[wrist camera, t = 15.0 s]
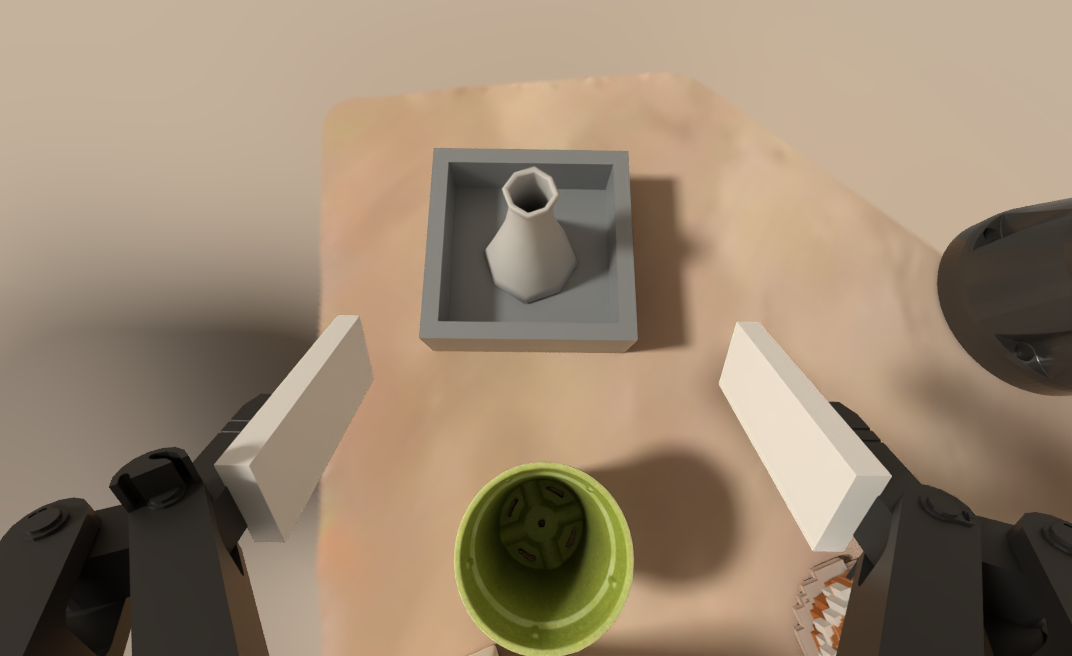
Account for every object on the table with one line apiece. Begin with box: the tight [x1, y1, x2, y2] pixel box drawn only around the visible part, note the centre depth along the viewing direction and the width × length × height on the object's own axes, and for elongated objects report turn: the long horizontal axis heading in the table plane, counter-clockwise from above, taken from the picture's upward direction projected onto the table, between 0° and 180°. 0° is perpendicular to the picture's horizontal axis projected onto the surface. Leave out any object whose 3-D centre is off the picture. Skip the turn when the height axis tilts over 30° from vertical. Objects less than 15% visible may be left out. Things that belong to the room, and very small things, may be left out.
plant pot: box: [454, 462, 634, 656], centre depth 27 cm, size 9×9×9 cm
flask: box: [483, 166, 578, 304], centre depth 30 cm, size 7×7×10 cm
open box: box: [419, 148, 638, 353], centre depth 34 cm, size 15×15×4 cm
